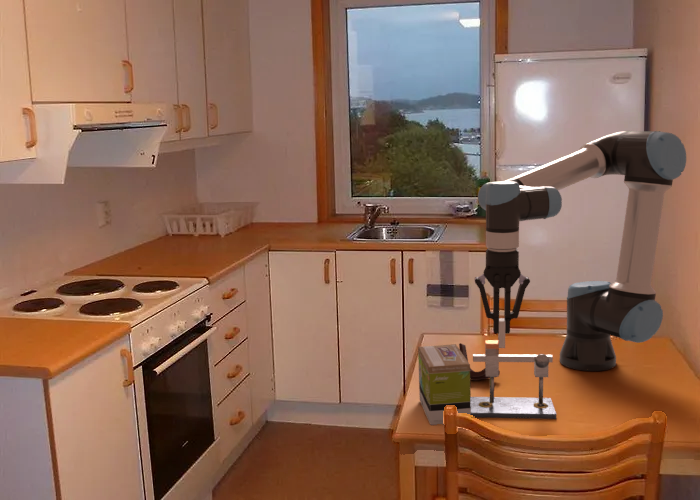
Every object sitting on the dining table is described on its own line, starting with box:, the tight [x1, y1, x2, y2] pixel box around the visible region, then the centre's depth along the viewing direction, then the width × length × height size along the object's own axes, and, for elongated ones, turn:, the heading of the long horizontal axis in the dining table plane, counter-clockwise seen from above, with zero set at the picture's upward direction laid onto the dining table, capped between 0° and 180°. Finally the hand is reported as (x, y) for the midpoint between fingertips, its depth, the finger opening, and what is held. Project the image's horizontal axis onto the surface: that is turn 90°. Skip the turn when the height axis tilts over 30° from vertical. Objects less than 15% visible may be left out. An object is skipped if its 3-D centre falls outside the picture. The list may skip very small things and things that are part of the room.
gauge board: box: [471, 396, 557, 420], centre depth 186 cm, size 20×10×1 cm, turn 83°
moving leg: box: [484, 339, 500, 403], centre depth 185 cm, size 3×3×15 cm
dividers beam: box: [472, 353, 554, 404], centre depth 185 cm, size 18×3×13 cm, turn 83°
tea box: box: [417, 343, 472, 426], centre depth 185 cm, size 15×10×15 cm, turn 5°
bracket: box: [458, 342, 501, 381], centre depth 208 cm, size 6×17×10 cm, turn 77°
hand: (501, 346), depth 183 cm, fingers closed
